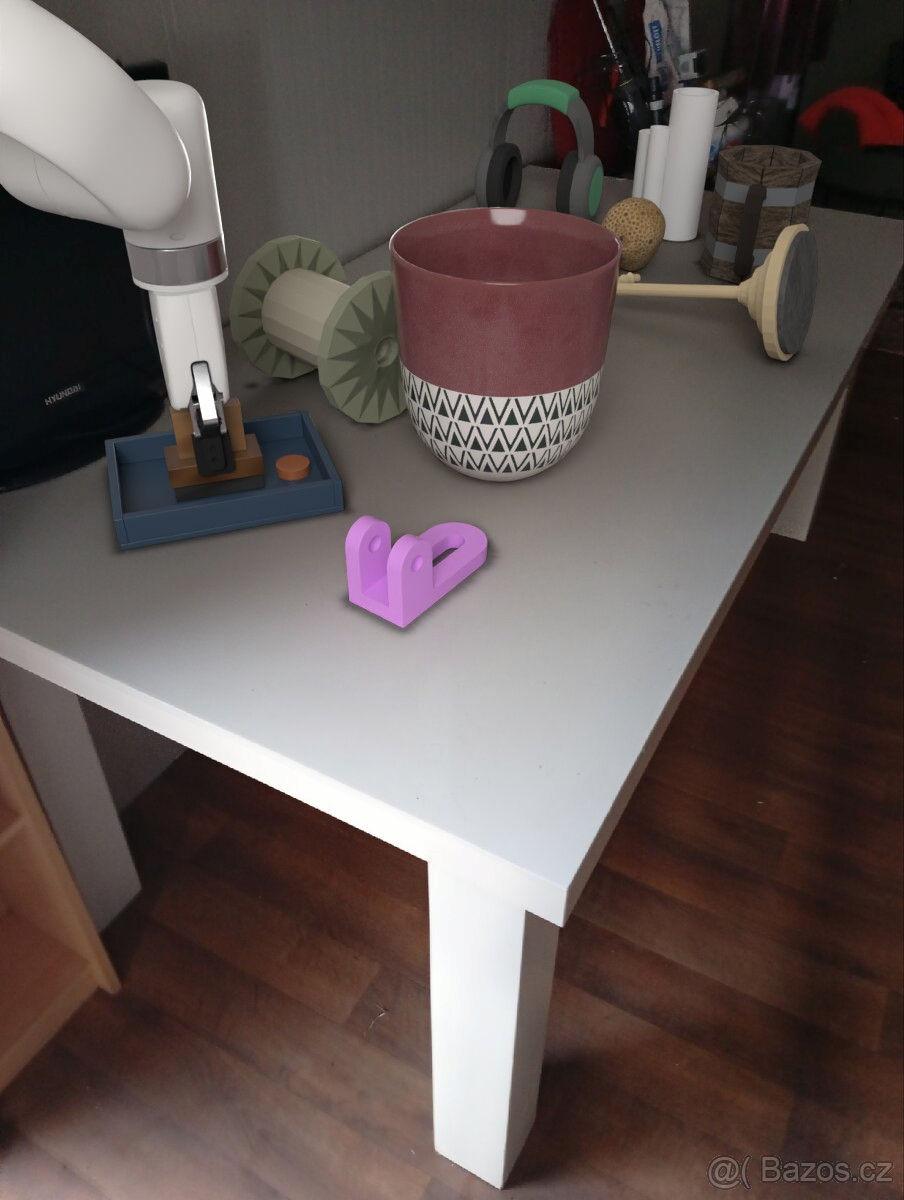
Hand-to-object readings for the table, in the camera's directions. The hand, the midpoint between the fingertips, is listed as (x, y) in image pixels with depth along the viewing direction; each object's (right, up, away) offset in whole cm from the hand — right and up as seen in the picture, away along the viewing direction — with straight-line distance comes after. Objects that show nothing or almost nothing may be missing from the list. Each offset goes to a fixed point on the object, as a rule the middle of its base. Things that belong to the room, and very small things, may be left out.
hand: (212, 457), depth 87 cm
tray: (+1, -3, +2) cm, 4 cm away
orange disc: (+7, -1, +4) cm, 8 cm away
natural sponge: (+47, +34, +49) cm, 76 cm away
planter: (+26, 0, +6) cm, 27 cm away
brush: (0, -2, +2) cm, 3 cm away
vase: (+55, +45, +63) cm, 94 cm away
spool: (+10, +10, +18) cm, 23 cm away
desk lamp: (+41, +18, +29) cm, 53 cm away
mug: (+63, +33, +48) cm, 86 cm away
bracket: (+20, -11, -8) cm, 24 cm away
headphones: (+36, +48, +67) cm, 90 cm away
